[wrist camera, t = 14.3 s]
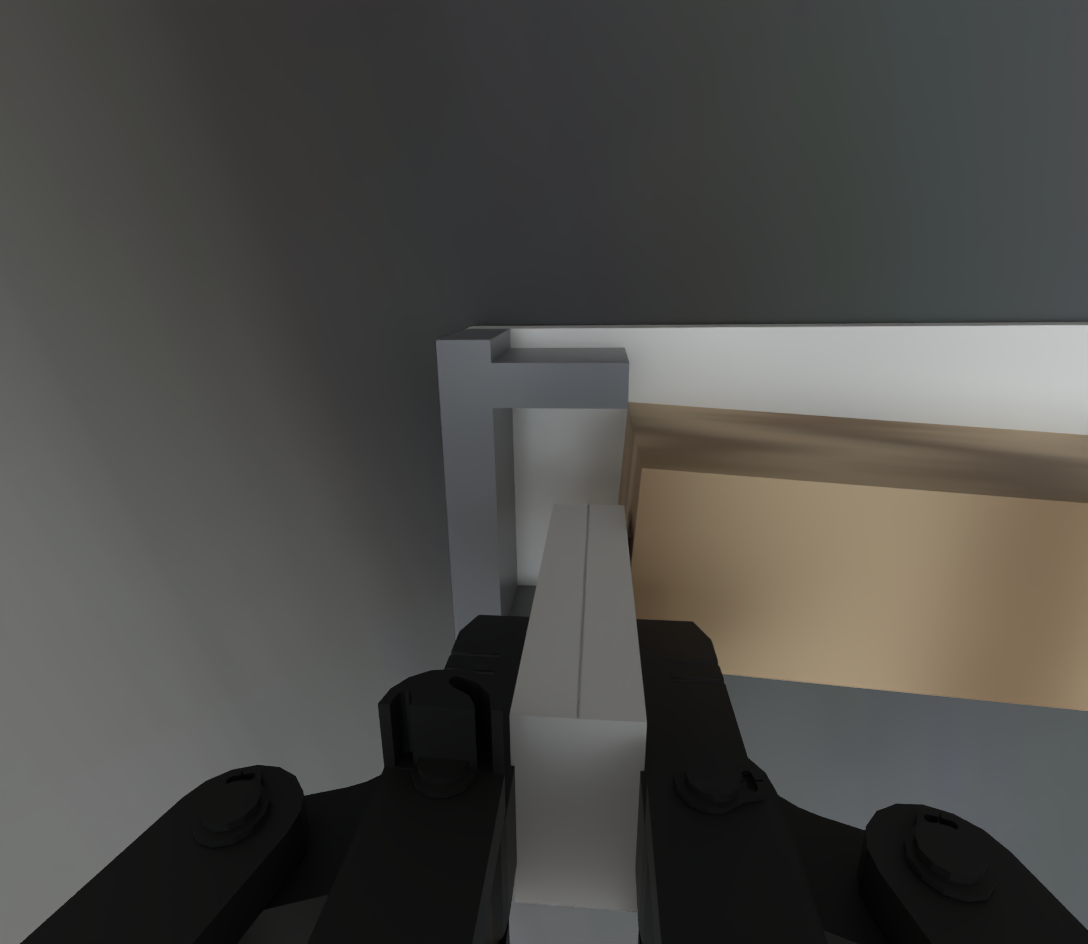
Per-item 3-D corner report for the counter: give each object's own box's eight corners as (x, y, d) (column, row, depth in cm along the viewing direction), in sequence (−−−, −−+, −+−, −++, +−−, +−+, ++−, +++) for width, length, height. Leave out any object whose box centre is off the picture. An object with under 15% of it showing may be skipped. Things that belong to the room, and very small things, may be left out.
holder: (472, 326, 17) (435, 340, 13) (1439, 319, 15) (1722, 334, 11) (485, 610, 20) (458, 689, 16) (1306, 640, 18) (1498, 738, 14)
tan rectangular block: (614, 539, 18) (620, 663, 12) (628, 402, 16) (641, 467, 11) (1131, 584, 17) (1405, 742, 11) (1186, 442, 15) (1525, 537, 10)
